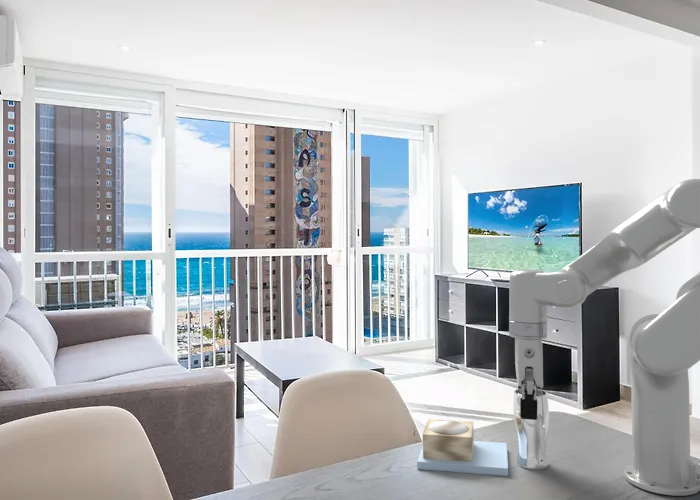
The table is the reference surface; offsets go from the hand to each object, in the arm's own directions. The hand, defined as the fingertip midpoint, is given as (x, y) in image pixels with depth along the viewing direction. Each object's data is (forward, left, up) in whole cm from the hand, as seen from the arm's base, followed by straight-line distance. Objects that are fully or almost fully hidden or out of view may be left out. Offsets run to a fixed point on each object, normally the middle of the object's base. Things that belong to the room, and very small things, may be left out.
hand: (527, 411), depth 112 cm
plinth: (+16, 0, -9) cm, 19 cm away
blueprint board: (+13, 0, -11) cm, 17 cm away
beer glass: (-1, 0, -11) cm, 11 cm away
